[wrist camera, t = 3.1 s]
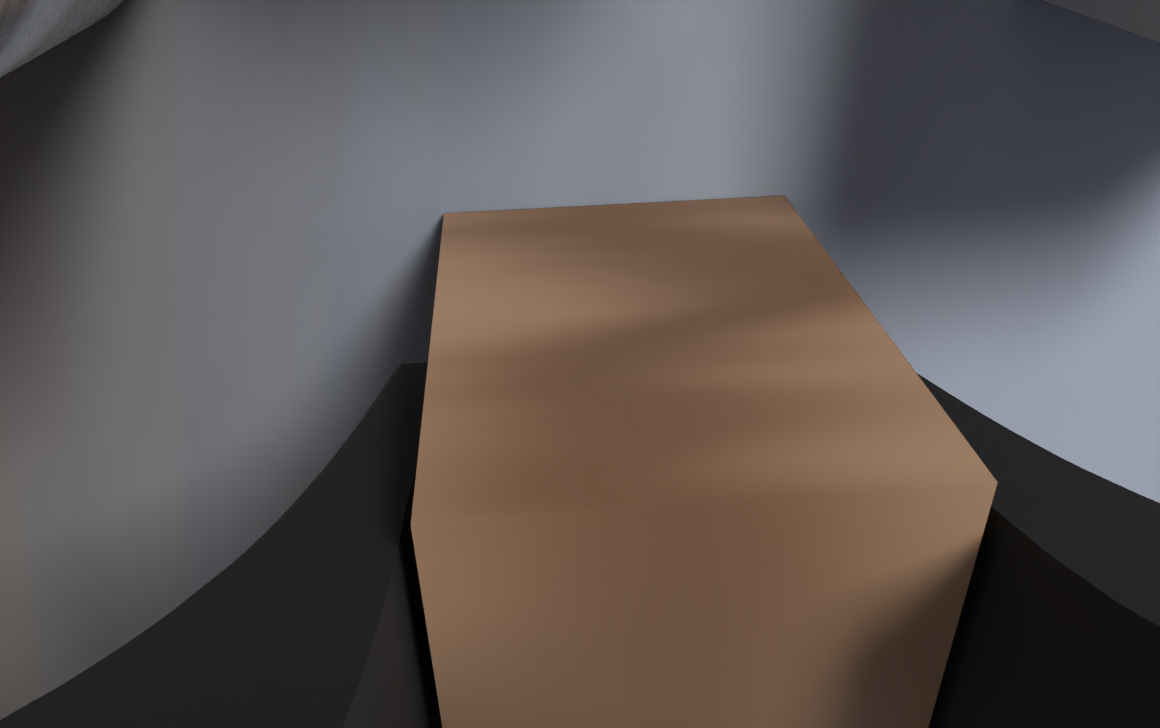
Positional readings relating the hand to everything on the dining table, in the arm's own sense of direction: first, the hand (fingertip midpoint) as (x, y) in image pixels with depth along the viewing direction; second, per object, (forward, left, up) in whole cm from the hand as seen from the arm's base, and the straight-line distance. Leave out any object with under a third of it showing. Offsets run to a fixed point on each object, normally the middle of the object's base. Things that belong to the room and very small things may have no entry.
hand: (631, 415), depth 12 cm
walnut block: (0, 0, -2) cm, 2 cm away
